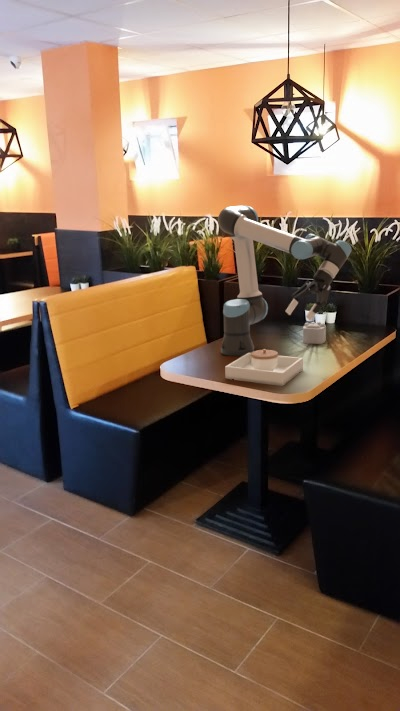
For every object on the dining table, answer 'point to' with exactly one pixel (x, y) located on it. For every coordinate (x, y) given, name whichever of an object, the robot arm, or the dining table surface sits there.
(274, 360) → the lidded jar
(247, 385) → the dining table surface
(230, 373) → the cream square tray
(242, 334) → the robot arm
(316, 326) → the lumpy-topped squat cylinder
